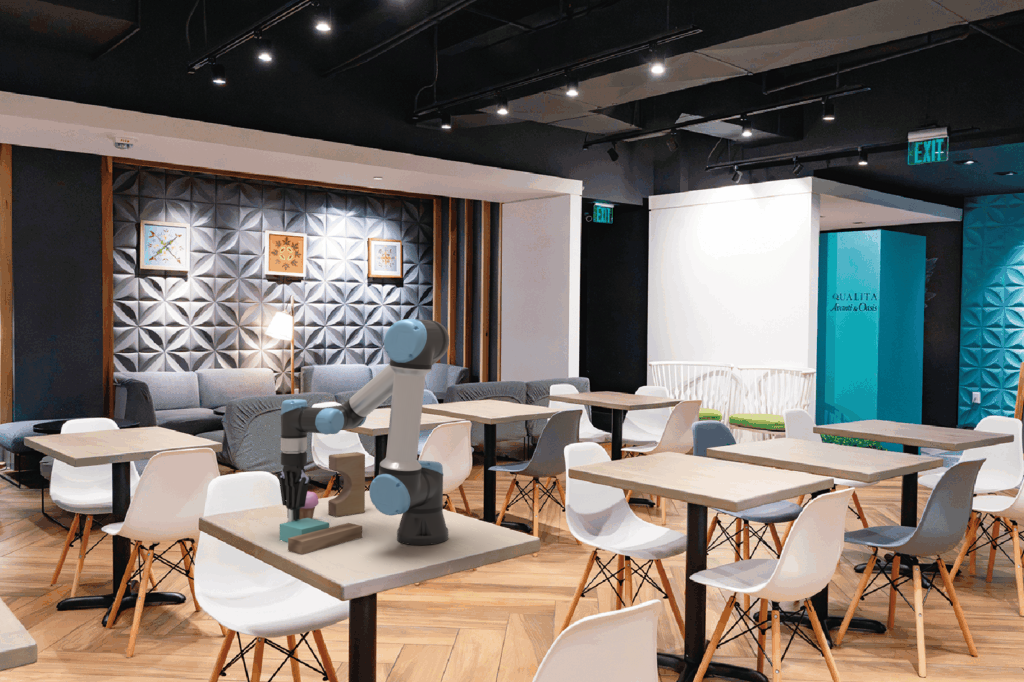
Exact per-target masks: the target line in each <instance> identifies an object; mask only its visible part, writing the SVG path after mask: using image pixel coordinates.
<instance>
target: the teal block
mask: <svg viewBox="0 0 1024 682" xmlns="http://www.w3.org/2000/svg"><path fill="white" fill-rule="evenodd" d="M326 528H330V522H328V521H324V520H319V519H315V518H313V519H311V518H304V519H300V520H295V521H291V522H288V521H287V522H283V523H279V541H280V540H282V541H281V542H284V541H285V542H284V543H288V538H291V537H295V536H298V535H302V534H306V533H310V532H314V531H318V530H322V529H326Z"/></svg>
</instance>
